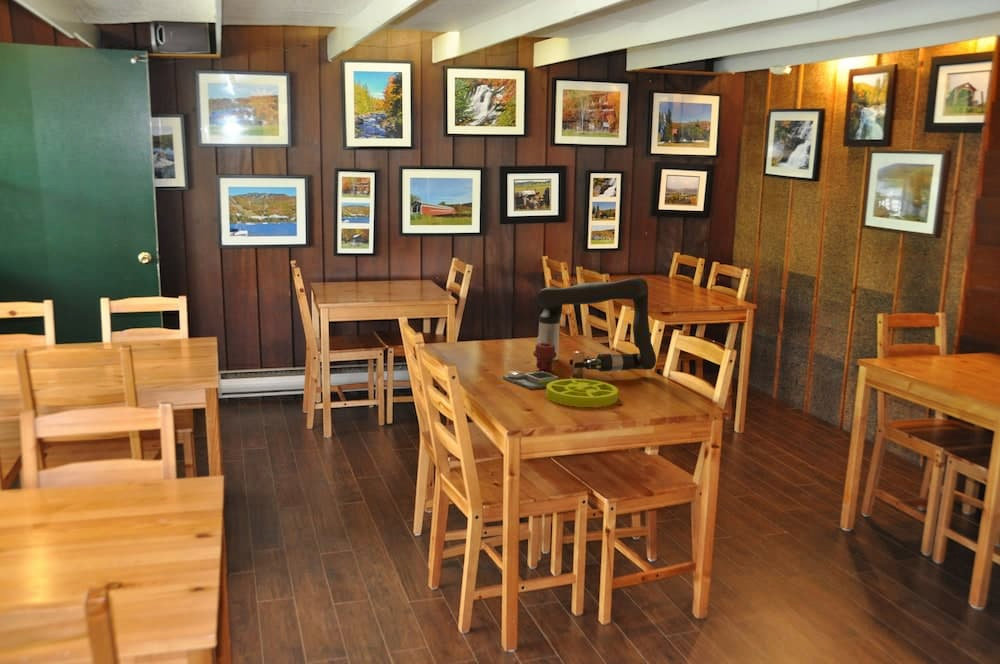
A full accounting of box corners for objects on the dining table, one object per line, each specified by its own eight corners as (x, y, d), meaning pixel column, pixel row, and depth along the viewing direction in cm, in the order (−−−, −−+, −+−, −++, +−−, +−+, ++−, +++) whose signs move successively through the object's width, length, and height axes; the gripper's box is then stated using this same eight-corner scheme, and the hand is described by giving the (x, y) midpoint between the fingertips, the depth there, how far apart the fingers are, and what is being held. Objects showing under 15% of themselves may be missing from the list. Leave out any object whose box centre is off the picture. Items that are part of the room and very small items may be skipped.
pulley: (534, 391, 355) (534, 379, 354) (595, 386, 366) (596, 375, 365) (566, 411, 330) (567, 398, 329) (631, 405, 341) (631, 392, 340)
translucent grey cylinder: (567, 379, 375) (568, 351, 373) (578, 377, 379) (579, 349, 376) (576, 382, 370) (577, 354, 368) (587, 380, 374) (589, 352, 371)
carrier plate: (502, 378, 372) (503, 370, 371) (533, 374, 381) (533, 366, 380) (531, 389, 356) (531, 382, 355) (562, 385, 365) (563, 377, 364)
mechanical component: (533, 367, 393) (556, 368, 392) (531, 372, 384) (555, 374, 383) (534, 339, 391) (557, 341, 390) (533, 344, 381) (556, 346, 380)
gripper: (603, 350, 383) (566, 351, 378) (617, 357, 370) (579, 358, 365) (602, 367, 385) (565, 368, 380) (616, 375, 371) (578, 376, 366)
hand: (572, 363), depth 372 cm, fingers closed on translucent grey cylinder, 4 cm apart
